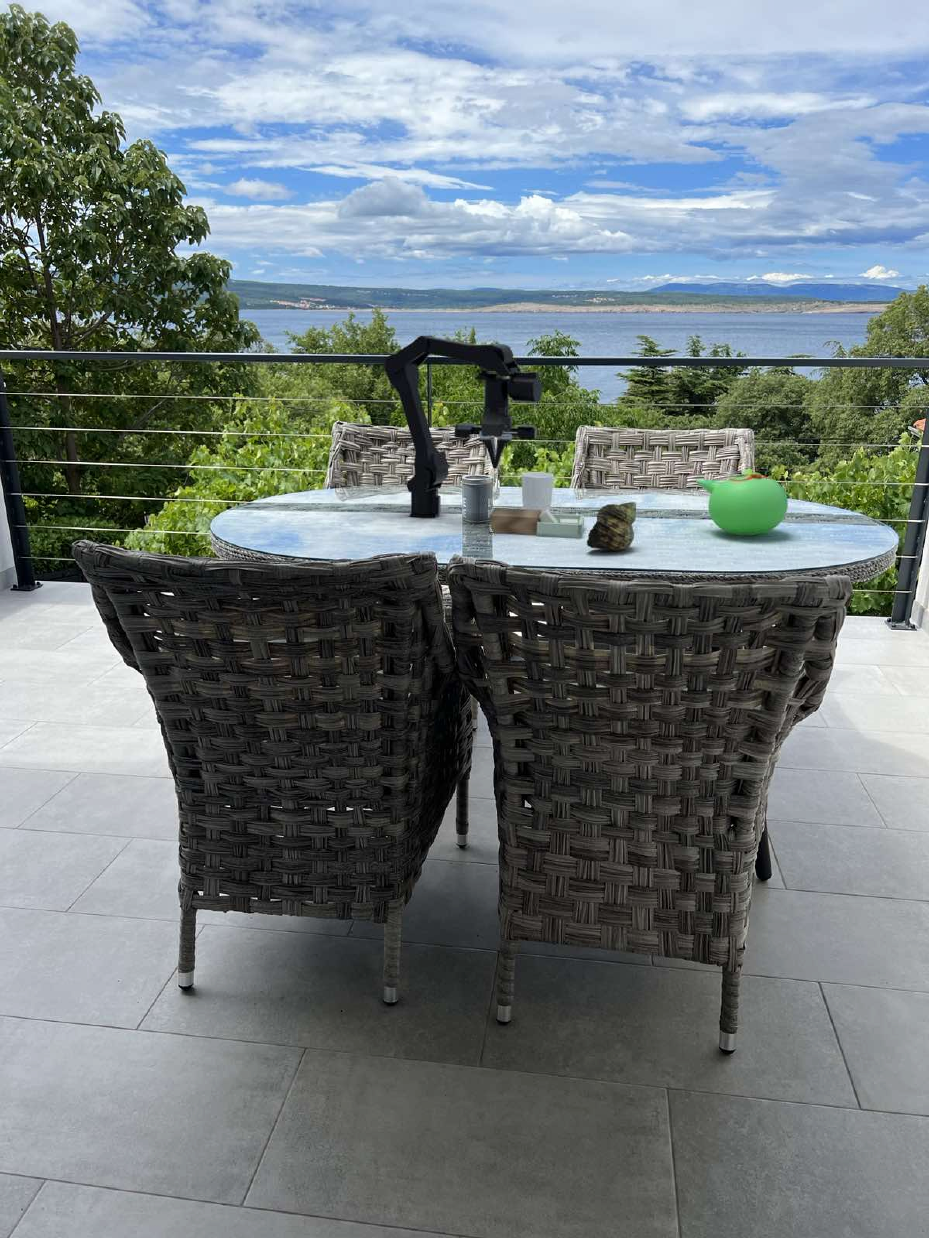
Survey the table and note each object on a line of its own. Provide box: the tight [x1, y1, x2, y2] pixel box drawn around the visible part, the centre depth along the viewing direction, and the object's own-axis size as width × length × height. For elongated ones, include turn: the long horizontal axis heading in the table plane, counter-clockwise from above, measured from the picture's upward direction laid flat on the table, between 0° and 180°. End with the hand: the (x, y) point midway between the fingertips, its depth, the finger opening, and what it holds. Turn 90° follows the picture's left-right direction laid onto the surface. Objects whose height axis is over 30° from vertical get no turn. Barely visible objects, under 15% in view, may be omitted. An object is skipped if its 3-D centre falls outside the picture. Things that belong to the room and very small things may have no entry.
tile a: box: [539, 509, 558, 523], centre depth 228 cm, size 4×4×2 cm
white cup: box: [521, 471, 555, 513], centre depth 246 cm, size 8×8×10 cm
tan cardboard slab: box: [489, 507, 541, 536], centre depth 229 cm, size 11×9×4 cm
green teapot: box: [695, 468, 789, 536], centre depth 226 cm, size 18×17×15 cm
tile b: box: [560, 519, 578, 524], centre depth 228 cm, size 4×4×2 cm
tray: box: [536, 513, 585, 539], centre depth 228 cm, size 10×11×3 cm
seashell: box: [586, 501, 637, 551], centre depth 211 cm, size 11×11×10 cm
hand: (495, 468), depth 233 cm, fingers closed
